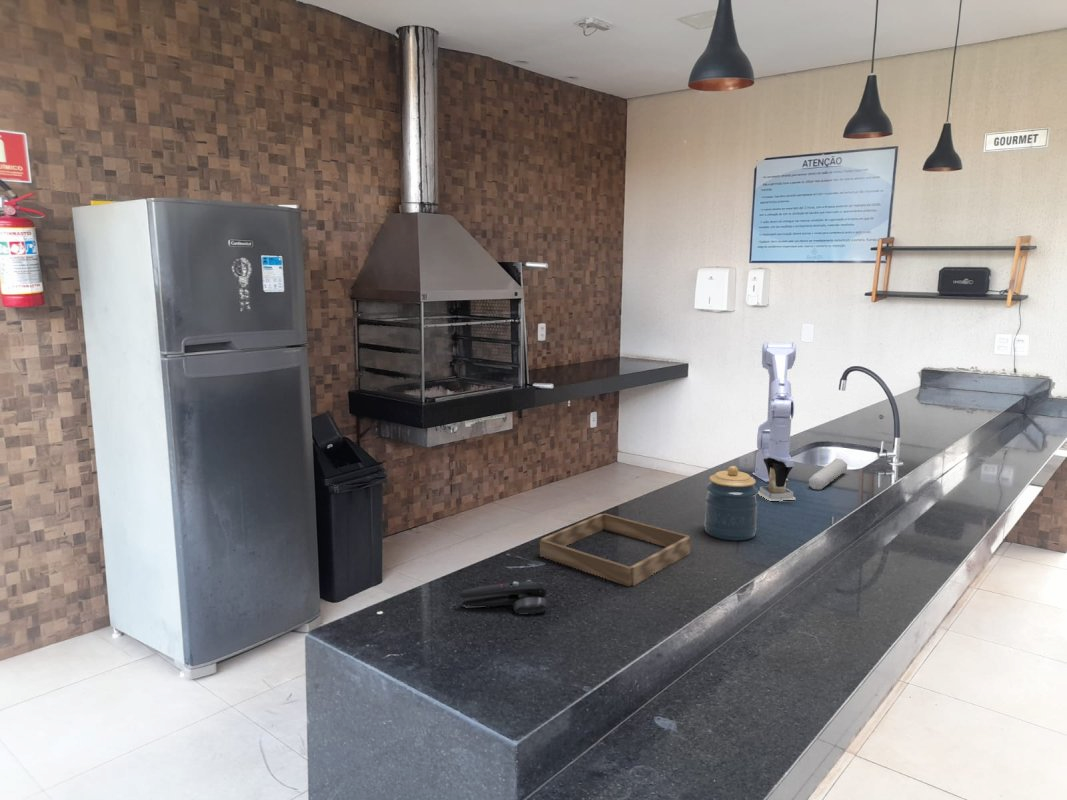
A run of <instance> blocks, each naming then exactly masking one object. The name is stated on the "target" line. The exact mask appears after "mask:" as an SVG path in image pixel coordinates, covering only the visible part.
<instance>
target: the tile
mask: <svg viewBox="0 0 1067 800" xmlns="http://www.w3.org/2000/svg"><path fill="white" fill-rule="evenodd" d="M771 493H772V492H771ZM758 494H759V496H760V497H761V496H762V497H761V498H763V497H764V498H765V500H766V499H767V500H769V501H779V502H784V501H783V500H795V501H796V497H794V496H793V498H782V499H771V498H768V497H766V496H765V495H763V494H761V493H760V490H759V492H758V493H757V494H756V495H758ZM764 498H763V499H764ZM767 500H766V501H767ZM769 501H768V502H769Z"/></svg>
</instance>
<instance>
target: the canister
mask: <svg viewBox="0 0 1067 800" xmlns="http://www.w3.org/2000/svg"><path fill="white" fill-rule="evenodd" d="M709 481H710V482H708V483H707V484H706V485H705V489H706V490H707V496H706V497H705V498H704V499H705V500H704V501H705V516H704V521H703V522H704V524H703V526H704V530H705V533H706V534H707V535H708V536H711V537H713V538H716V539H720V540H724V541H725V540H726V541H733V542H734V541H747V540H751V539H753V538H754V537H755V535H756V531H757V511H758V505H759V502H758V500H757V495H758V494H757V493H758V492H759V491H760V489H758V487H757V486H756V485H755V484H756V483H757V482H756V479H755V478H754V477H752V476H751V475H750V474H748V473H746V472H743V471H739V469H738V467H737V466H736V465H730V466H729V467H728V468H727V470H720V471H717V472H715V473H714V474H712V475H710V476H709Z"/></svg>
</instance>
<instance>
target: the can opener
mask: <svg viewBox="0 0 1067 800" xmlns="http://www.w3.org/2000/svg"><path fill="white" fill-rule="evenodd" d="M547 587H548V586H547V585H546V583H544V582H542V581H532V580H530V579H528V580H525V581H524V582H518V581H515V580H514V581H513V582H510V583H509V582H507V583H496V584H490V585H484V586H478V587H474V588H468V589H467V588H466V589H464V590H461V591H460V593H459V595H458V596H459V597H460V598H462V599H465V600H463V601H462V602H461V604H462V605H466V606H468V605H469V606H488V607H487V608H491V607H490V606H492V607H497V606H503V605H511V606H512V609H513V611H514V613H515V614H517V613H528V614H532V615H535V614H534V613H538V614H541V613H543V612H545V611H546V610H547V609H548V605H549V600H548V599H547V598H546V596H547V593H548V588H547ZM461 604H460V605H461Z"/></svg>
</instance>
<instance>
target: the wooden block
mask: <svg viewBox="0 0 1067 800" xmlns="http://www.w3.org/2000/svg"><path fill="white" fill-rule="evenodd" d="M768 486H769V491H771V492H772V493H785V489H786V488H787V487H786V486H787V481H786V482H785V485H784V487H777V486H776V478H775V470H774V467H770V476H769V482H768Z"/></svg>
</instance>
